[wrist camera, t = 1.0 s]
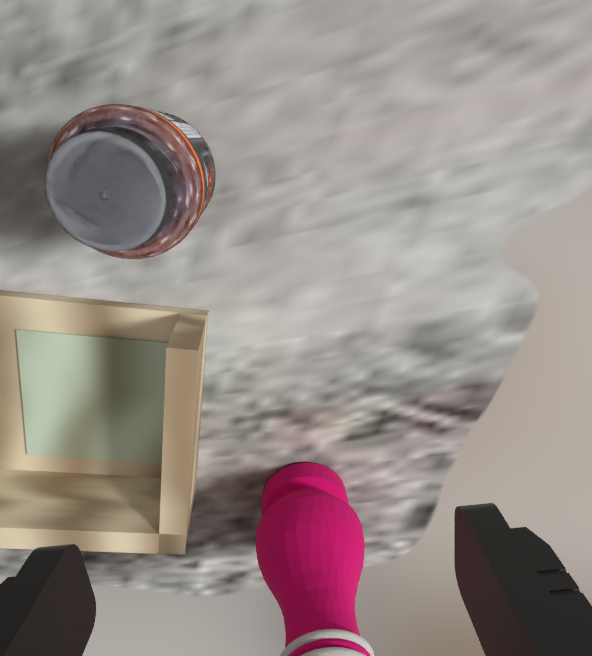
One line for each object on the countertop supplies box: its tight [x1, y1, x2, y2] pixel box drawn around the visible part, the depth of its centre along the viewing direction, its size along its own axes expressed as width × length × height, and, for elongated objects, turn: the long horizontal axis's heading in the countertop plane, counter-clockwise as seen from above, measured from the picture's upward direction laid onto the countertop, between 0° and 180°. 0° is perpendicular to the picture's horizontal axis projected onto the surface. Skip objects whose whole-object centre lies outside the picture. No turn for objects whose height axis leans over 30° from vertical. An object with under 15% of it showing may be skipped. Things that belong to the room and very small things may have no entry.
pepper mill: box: [255, 463, 374, 656], centre depth 27 cm, size 7×7×20 cm
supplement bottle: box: [45, 104, 215, 259], centre depth 21 cm, size 6×6×11 cm
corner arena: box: [0, 291, 208, 555], centre depth 29 cm, size 14×14×6 cm
